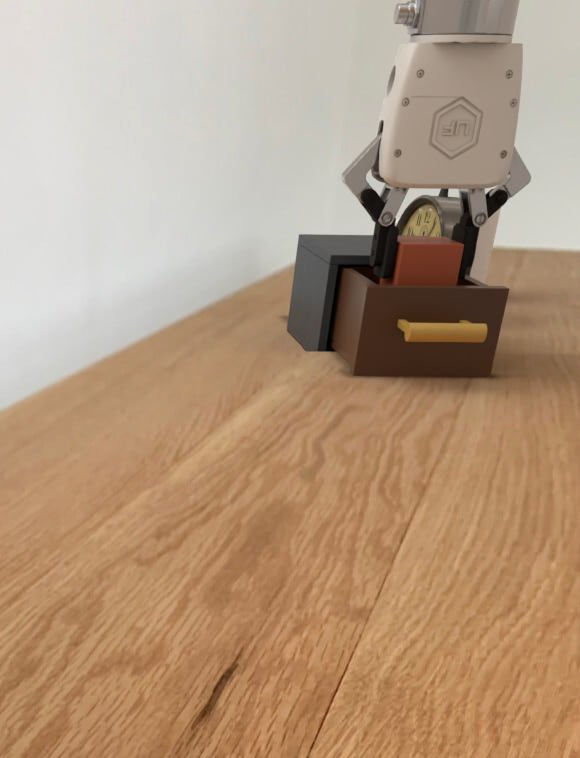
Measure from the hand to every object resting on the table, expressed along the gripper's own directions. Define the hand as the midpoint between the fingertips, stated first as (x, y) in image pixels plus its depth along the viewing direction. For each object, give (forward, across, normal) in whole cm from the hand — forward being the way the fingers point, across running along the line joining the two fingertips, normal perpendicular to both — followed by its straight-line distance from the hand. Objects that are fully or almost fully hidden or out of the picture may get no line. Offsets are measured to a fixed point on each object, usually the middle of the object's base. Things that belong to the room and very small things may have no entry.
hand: (418, 274), depth 94 cm
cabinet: (+8, 0, +12) cm, 15 cm away
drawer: (+7, 0, -2) cm, 8 cm away
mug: (+8, +15, +41) cm, 45 cm away
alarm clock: (+8, +10, +27) cm, 30 cm away
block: (+2, 0, 0) cm, 2 cm away
